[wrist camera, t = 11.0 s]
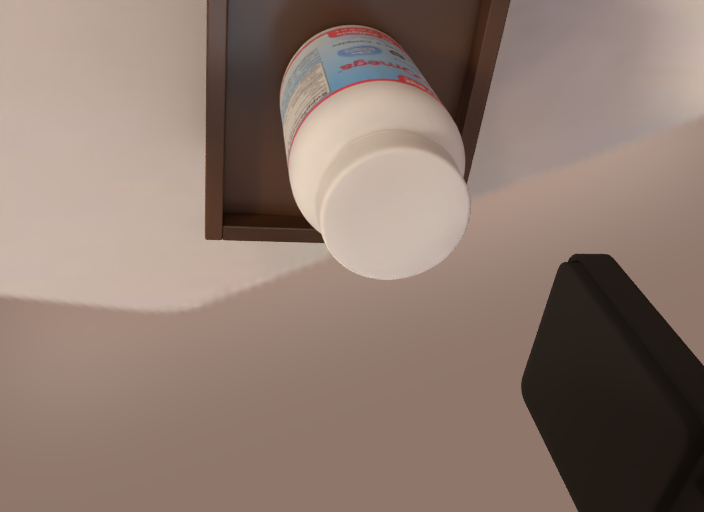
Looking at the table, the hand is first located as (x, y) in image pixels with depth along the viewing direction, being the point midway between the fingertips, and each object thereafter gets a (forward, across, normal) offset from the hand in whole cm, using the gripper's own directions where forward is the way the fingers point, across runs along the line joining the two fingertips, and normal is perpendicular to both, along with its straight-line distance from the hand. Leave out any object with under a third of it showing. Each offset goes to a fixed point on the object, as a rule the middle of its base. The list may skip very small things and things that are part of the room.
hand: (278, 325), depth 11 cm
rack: (+29, -4, +3) cm, 29 cm away
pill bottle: (+20, -4, +3) cm, 21 cm away
